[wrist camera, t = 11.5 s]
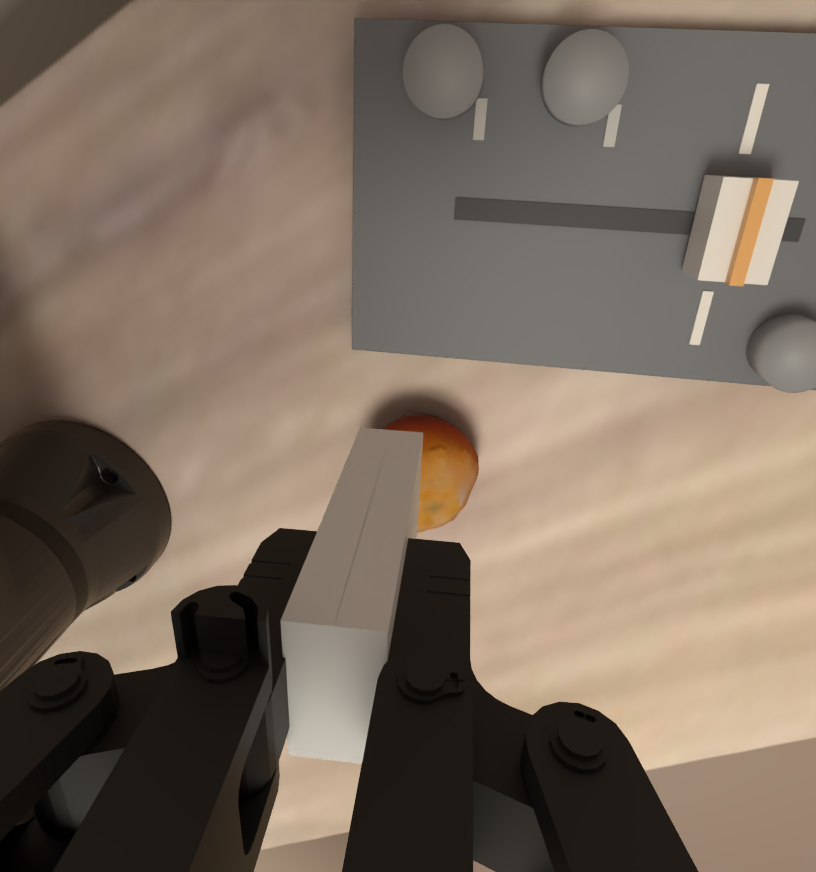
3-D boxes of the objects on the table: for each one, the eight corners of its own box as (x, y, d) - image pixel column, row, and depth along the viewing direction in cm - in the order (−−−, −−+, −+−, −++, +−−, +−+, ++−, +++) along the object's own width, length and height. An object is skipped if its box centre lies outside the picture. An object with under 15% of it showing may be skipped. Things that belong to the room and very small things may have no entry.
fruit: (386, 369, 40) (425, 451, 35) (469, 405, 45) (514, 482, 39) (323, 453, 44) (349, 539, 38) (406, 478, 48) (440, 558, 43)
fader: (681, 271, 34) (700, 283, 31) (704, 173, 32) (728, 176, 29) (745, 275, 34) (771, 288, 31) (773, 177, 32) (805, 180, 29)
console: (358, 340, 41) (343, 360, 37) (362, 25, 33) (344, 8, 29) (823, 381, 38) (860, 407, 34) (946, 45, 30) (1014, 29, 26)
